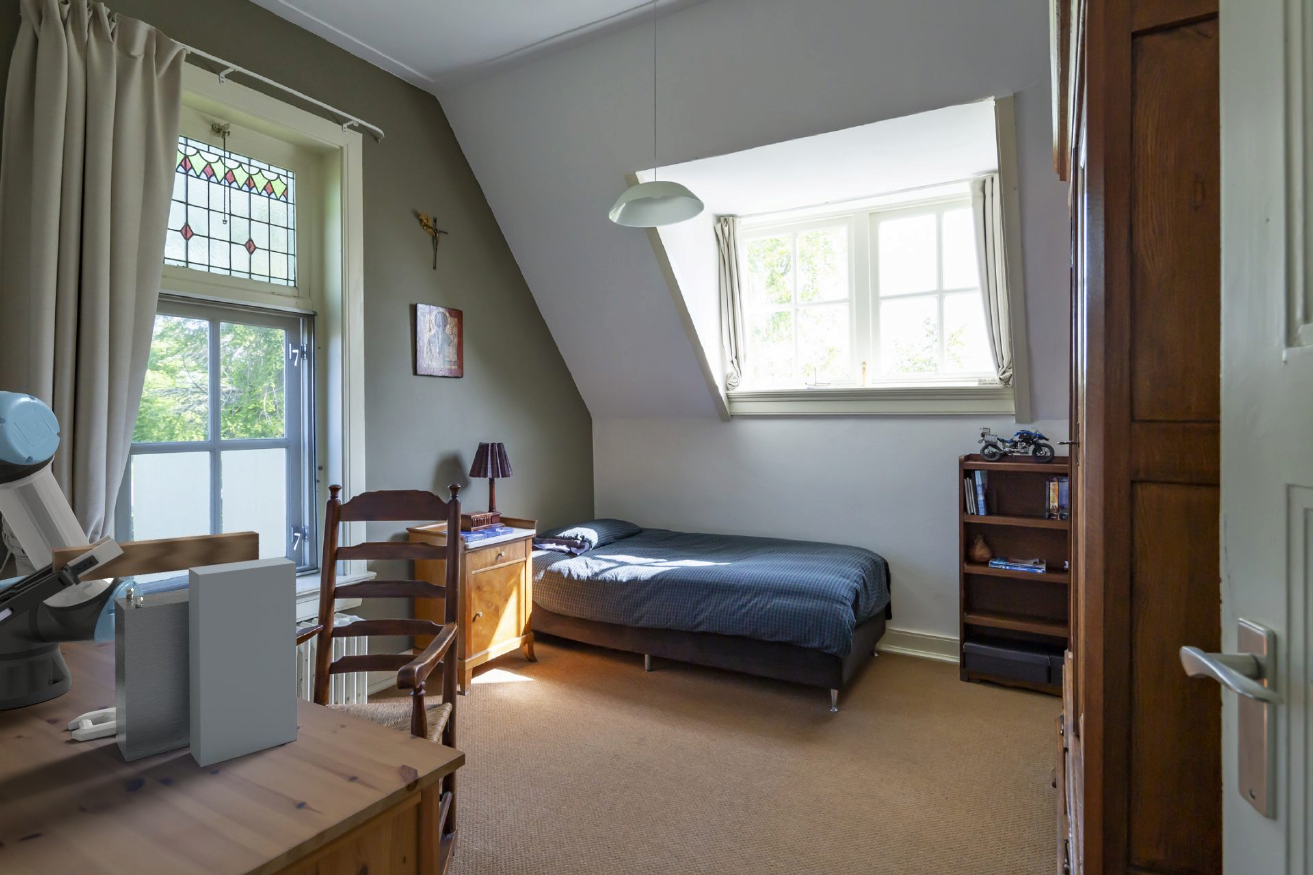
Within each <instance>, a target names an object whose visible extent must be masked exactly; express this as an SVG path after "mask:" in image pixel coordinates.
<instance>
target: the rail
mask: <svg viewBox="0 0 1313 875" xmlns="http://www.w3.org/2000/svg"><path fill="white" fill-rule="evenodd" d="M116 543H117V544H118V545H119V546H120V548H121V549H122V550H123V552H124V553H122V554H120V555H119V556H117V557H115V558H113V559H112V560H110V561H108V562H106V563H104V564H103V565H101V566H99V567H97V568H96V569H94V570H92V571H90V572H88V573H87V574H85V575H83V576H81V577H80V578H79V577H78V576H77V577H78V579H79V580H80V581H81V582H84V581H93V580H101V579H110V578H119V579H120V578H124V577H125V578H126V577H135V576H143V575H144V576H146V575H153V574H161V573H168V572H169V573H170V572H177V571H179V572H180V571H189V568H193V567H201V566H210V565H218V564H226V563H235V562H243V561H252V560H260V533H258V532H256V531H253V530H250V531H249V530H248V531H241V532H240V531H239V532H236V531H235V532H226V533H215V534H204V535H192V536H182V537H171V538H170V537H169V538H159V539H147V540H146V539H145V540H134V541H125V542H123V541H122V542H121V541H120V542H116ZM99 545H101V544H98V545H87V546H75V547H64V548H53V549H52V573H53V572H55V571H57V570H59V569H61V567H63V566H67V565H68V564H67V563H68V562H70V561H72V560H73V559H75V558H77V557H79V556H81V555H83V554H84V553H86V552H88V551H90V550H92V549H94V548H95V547H97V546H99ZM68 566H69V565H68ZM69 567H70V566H69Z"/></svg>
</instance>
